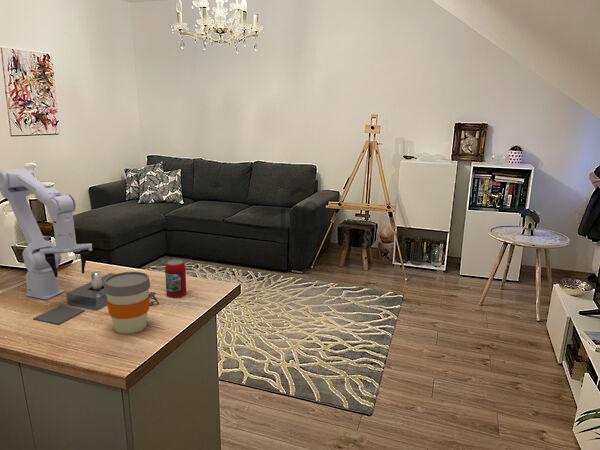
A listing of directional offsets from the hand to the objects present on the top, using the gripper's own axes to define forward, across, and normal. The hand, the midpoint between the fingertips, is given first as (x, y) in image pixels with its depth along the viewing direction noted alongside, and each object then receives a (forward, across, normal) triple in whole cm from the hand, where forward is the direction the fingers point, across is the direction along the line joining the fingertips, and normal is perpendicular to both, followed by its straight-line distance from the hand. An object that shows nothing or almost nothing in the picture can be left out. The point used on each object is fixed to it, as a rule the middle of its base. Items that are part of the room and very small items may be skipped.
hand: (69, 274), depth 143 cm
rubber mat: (+10, -4, -7) cm, 13 cm away
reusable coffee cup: (+11, +15, -24) cm, 30 cm away
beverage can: (+11, +32, -5) cm, 34 cm away
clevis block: (+10, +10, +3) cm, 14 cm away
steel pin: (+10, +7, +1) cm, 13 cm away
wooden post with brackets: (+11, +21, -10) cm, 26 cm away
